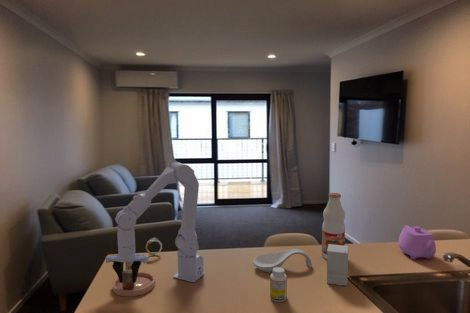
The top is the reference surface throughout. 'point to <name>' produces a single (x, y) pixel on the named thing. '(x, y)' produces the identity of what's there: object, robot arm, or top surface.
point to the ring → (151, 242)
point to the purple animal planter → (417, 242)
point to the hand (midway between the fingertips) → (128, 281)
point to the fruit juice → (333, 223)
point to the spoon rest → (277, 259)
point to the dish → (136, 285)
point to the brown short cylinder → (127, 280)
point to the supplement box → (337, 264)
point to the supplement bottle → (278, 285)
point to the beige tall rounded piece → (128, 265)
